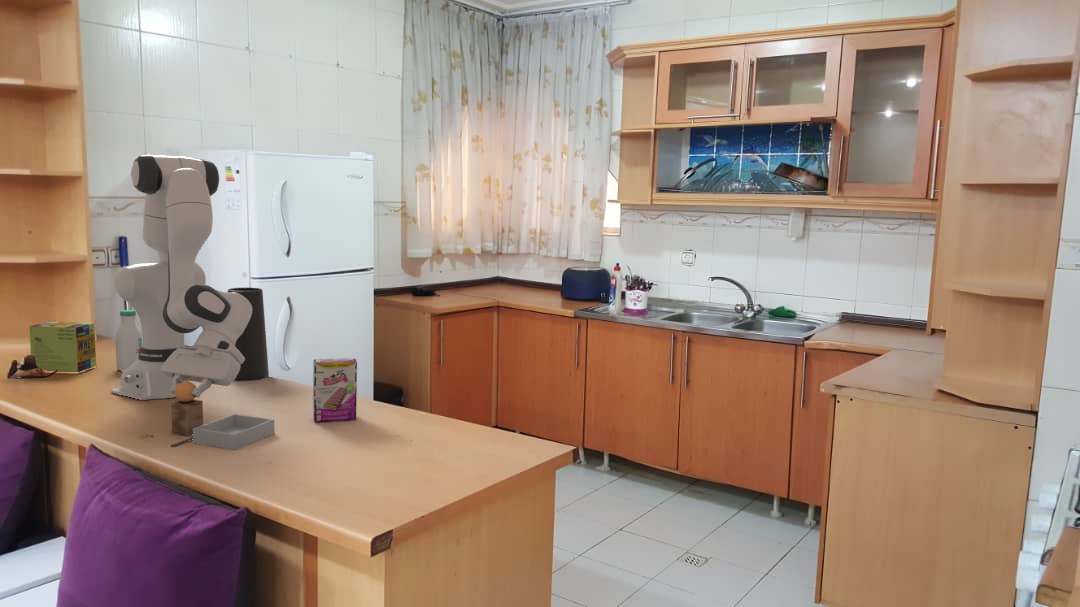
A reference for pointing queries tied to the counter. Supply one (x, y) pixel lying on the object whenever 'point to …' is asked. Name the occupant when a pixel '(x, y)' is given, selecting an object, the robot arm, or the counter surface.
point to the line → (182, 442)
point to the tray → (233, 431)
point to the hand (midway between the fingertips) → (184, 394)
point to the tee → (186, 416)
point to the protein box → (63, 346)
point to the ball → (184, 391)
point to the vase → (253, 338)
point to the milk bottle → (127, 340)
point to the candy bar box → (334, 389)
